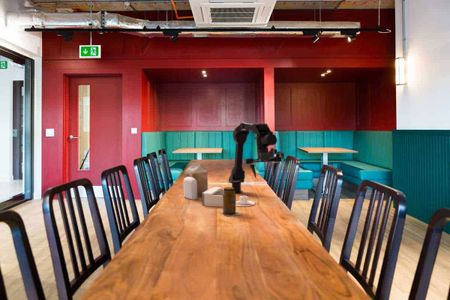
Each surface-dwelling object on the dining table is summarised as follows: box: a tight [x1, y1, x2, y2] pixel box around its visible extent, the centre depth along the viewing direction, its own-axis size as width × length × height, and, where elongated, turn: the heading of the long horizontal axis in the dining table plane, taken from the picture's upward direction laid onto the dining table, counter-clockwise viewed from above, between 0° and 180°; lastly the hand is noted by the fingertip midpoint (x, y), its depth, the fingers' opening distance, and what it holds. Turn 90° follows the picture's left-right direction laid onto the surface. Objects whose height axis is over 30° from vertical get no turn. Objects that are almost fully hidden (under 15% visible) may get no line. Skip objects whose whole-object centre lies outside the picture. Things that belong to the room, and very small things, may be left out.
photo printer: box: [182, 177, 198, 201], centre depth 169 cm, size 10×4×12 cm, turn 39°
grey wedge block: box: [201, 186, 224, 208], centre depth 159 cm, size 17×11×6 cm, turn 163°
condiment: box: [219, 186, 241, 217], centre depth 137 cm, size 7×8×12 cm
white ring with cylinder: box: [236, 195, 256, 207], centre depth 154 cm, size 12×12×4 cm
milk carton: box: [183, 162, 209, 197], centre depth 179 cm, size 11×11×19 cm
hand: (264, 177), depth 150 cm, fingers open, 9 cm apart
